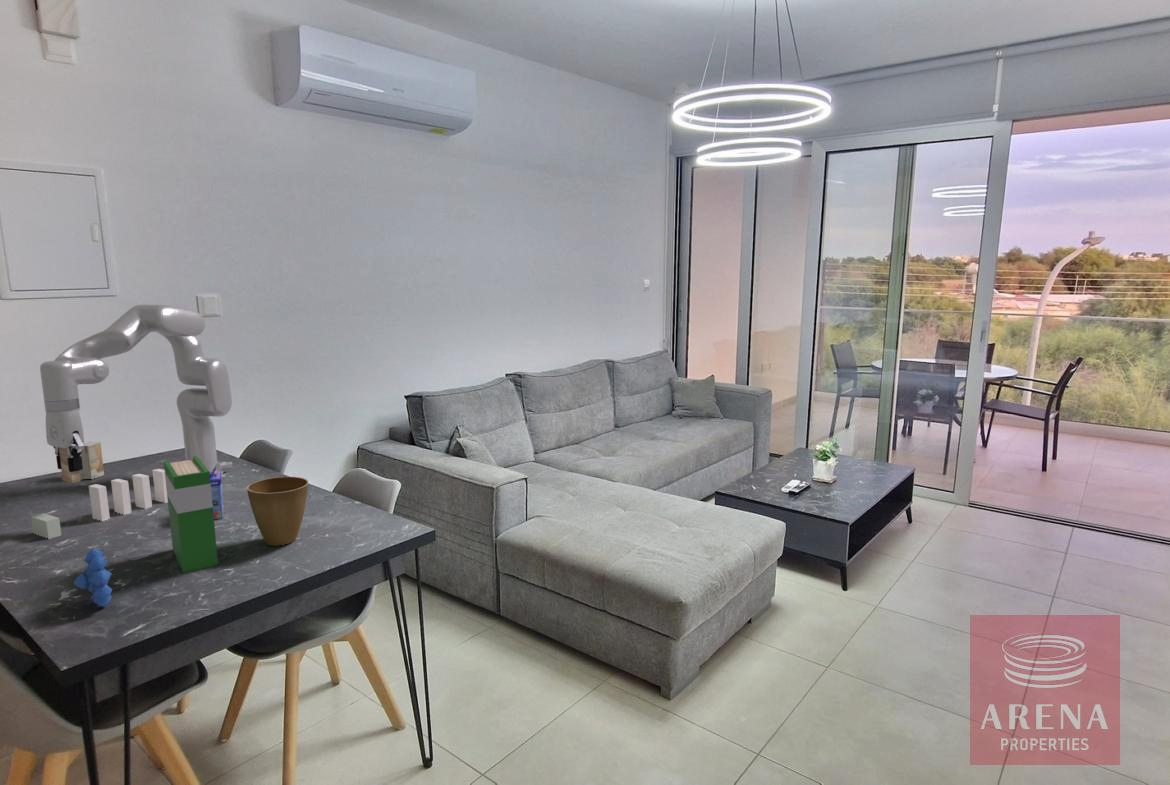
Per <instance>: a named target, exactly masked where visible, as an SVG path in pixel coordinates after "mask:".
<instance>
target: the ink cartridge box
mask: <svg viewBox="0 0 1170 785" xmlns="http://www.w3.org/2000/svg"><path fill="white" fill-rule="evenodd" d="M215 470H216V466H215V468H214V469H213V472H210V482H211V493H212V504H213V515H214V520H221V519H222V520H223V518H224V517H223V516H224V498H223V495H224V494H223V492H224V491H223V479H222V475H221V471H216V472H215Z"/></svg>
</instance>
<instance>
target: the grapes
mask: <svg viewBox="0 0 1170 785" xmlns="http://www.w3.org/2000/svg"><path fill="white" fill-rule="evenodd" d="M104 556H105V553H104V552H102V551H101V550H100V549H98V548H91V549H90V550H89V551H88V553H87V554H86V556H85V558H84V559H83V562H85V563H86V564H87V566H86V567H85V569H84V572H85V573H79V575H78V576H77V577H76V578H75V579H74V581H73V585H75V587H77V588H79V589H83V590H84V589H87V590H88V591H89V592H90V593H92V595H91V597H90V599H91V600H93V601H92V602H93V603H94V604H95V605H97V606H99V607H107V605H108V604H109V603H110V601H111V599H112V598H113V595H111V594H112V591H113V590H114V589H112V588H111V587H110V586H109V585H108V582H109V581H110V578H111V577H112V575H113V573H112V572H110V570H107V569H106V568H105V567H106V565H107V563H108V560H107V559H105V558H104Z"/></svg>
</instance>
